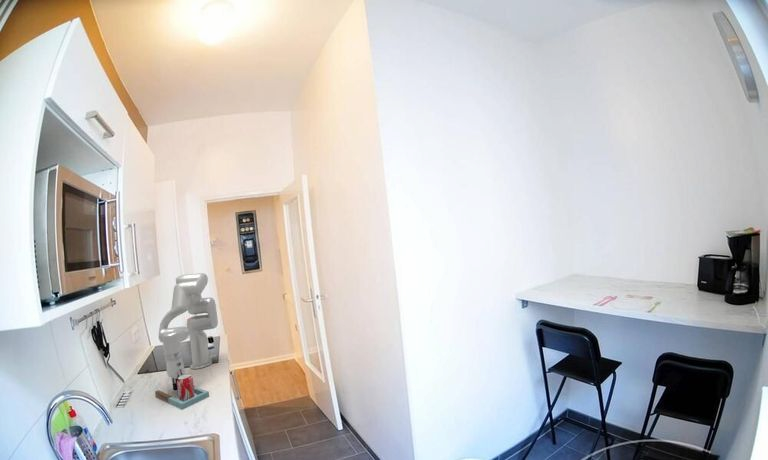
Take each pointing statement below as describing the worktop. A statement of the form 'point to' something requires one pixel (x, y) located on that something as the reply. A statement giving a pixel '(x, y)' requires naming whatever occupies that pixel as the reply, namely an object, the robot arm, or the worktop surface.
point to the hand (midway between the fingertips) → (177, 389)
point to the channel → (162, 395)
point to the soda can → (185, 387)
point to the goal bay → (178, 403)
